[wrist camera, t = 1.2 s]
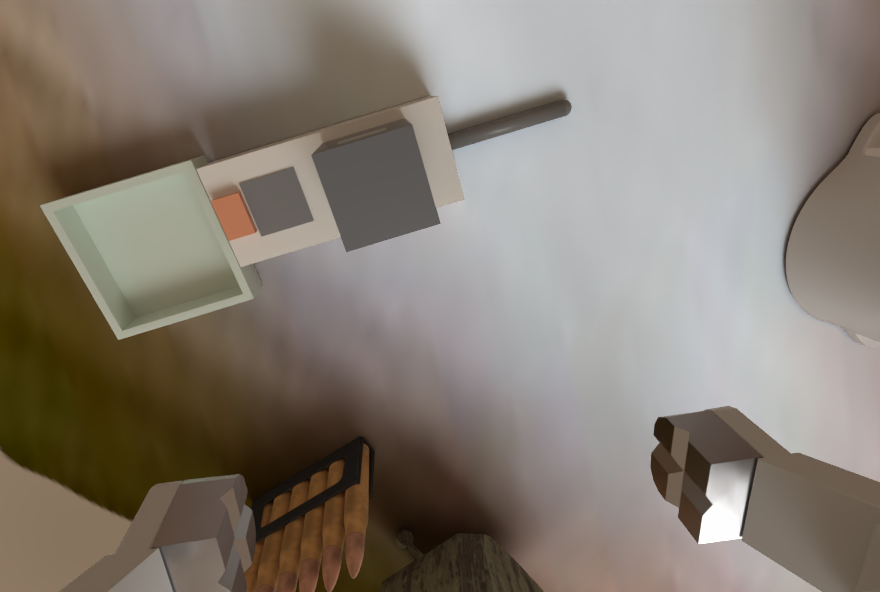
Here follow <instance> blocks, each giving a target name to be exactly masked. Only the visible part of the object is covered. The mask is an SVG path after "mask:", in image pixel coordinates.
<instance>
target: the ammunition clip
mask: <svg viewBox="0 0 880 592" xmlns="http://www.w3.org/2000/svg"><path fill="white" fill-rule="evenodd" d="M374 452H375V451H374V450H373V449H372V447H371V446H370V445H369V444H368V443H367V442H366V440H365V439H364V438H363V437H358V438H356V439H355V440H353V441H351V442H350V443H348V444H346V445H345V446H343V447H341V448H340V449H338V450H336V451H335V452H333V453H332V454H330V455H328V456H327V457H325V458H323V459H322V460H320V461H318V462H317V463H315V464H313V465H312V466H310V467H308V468H307V469H305V470H303V471H302V472H300V473H298V474H297V475H295V476H293V477H292V478H290V479H288V480H287V481H285V482H284V483H282V484H280V485H279V486H277V487H275V488H274V489H272V490H270V491H269V492H267V493H265V494H264V495H262V496H260V497H259V498H257V499H255V500H254V501H253V503H252V507H251V510H252V511H253V516H254V520H255V529H256V542H255V553H254V558H253V563H252V565H251V566H250V567H249V568H248V569H247V570H246V571H245V572H244V575H245V579H246V583H247V589H246V592H276V589H277V592H295V590H296V586H297V580H298V577H299V589H300V592H314V591H315V587H316V584H317V580H318V575H319V568H320V564H321V558H322V554H323V560H322V572H323V579H324V585H325V588H326V590H327V592H331V591H332V590H333V588H334V586H335V584H336V581H337V578H338V575H339V571H340V566H341V560H342V553H343V545H344V541H346V544H345V552H346V562H347V567H348V571H349V573H350V575H351V577H352V578H355V577H356V576H357V574H358V572H359V570H360V567H361V564H362V560H363V554H364V542H365V534H366V527H367V524H368V503H369V499H370V498H372V491H373V471H374ZM299 572H300V576H299Z"/></svg>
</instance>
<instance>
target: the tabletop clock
mask: <svg viewBox="0 0 880 592" xmlns="http://www.w3.org/2000/svg"><path fill="white" fill-rule="evenodd" d="M413 540H414V537H413V535H412V533H411V531H409V530H407V529H402V530H399V531H398V532H397V533H396V536H395V543H396V545H397V547H398V548H400V549H403V550H406V549H408V550H409V551H410V553H411V554H412V556H413V557H414V559H415V561H414V562H412V563H411V564H409V565H408V566H406V567H404V568H403V569H401V570H400V571H398V572H397V573H395V574H394V575H392V576H391V577H389V578H387V579H386V580H384V581H383V582H382V585H381V587H380V590H379V592H543V590H542V589H541V588H540V587H539V586H538V585H537V584H536V582H535V581H534V580H533V579H532V578H531V577H530V576H529V575H528V574H527V573H526V571H525V570H524V569H523V568H522V567H521V566H520V565H519V564H518V563H517V562H516V561H515V560H514V559H513V558H512V557H511V556H510V555H509V554H508V553H507V552H506V551H505V550H504V549H503V548H502V547H501V546H500V545H499V544H498V543H497V542H496V541H495V540H493V539H492V538H491V537H489V536H488V535H485V534H469V533H457V534H456V535H454V536H452V537H451V538H449V539H448V540H446V541H445V542H443V543H442V544H440V545H438V546H437V547H435V548H434V549H432V550H431V551H429V552H428V553H426V554H425V555H424V554H423V553H422V552H421V551H420V550H419V549H417V548H416V547H415V546H414V545H413Z"/></svg>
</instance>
